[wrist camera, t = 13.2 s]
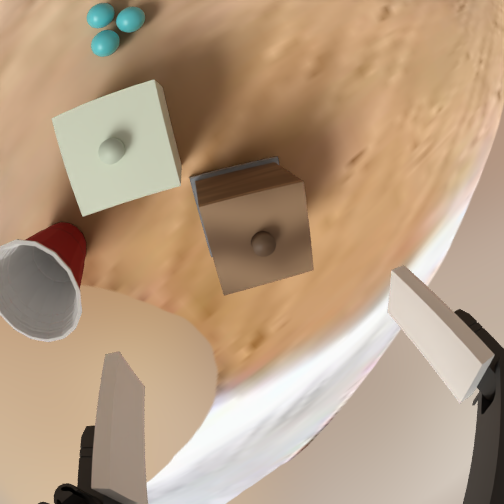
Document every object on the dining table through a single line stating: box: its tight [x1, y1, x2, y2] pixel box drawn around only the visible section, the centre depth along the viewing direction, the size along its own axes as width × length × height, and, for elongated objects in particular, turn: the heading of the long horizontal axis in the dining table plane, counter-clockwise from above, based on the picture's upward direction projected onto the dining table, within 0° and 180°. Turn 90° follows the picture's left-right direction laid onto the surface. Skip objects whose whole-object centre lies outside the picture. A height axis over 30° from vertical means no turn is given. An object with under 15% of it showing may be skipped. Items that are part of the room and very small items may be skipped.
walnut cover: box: [195, 162, 314, 295], centre depth 30 cm, size 9×9×10 cm
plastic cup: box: [0, 222, 86, 342], centre depth 27 cm, size 11×11×12 cm
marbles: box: [87, 3, 145, 57], centre depth 24 cm, size 18×6×3 cm, turn 10°
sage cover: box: [52, 80, 182, 217], centre depth 25 cm, size 9×9×10 cm
